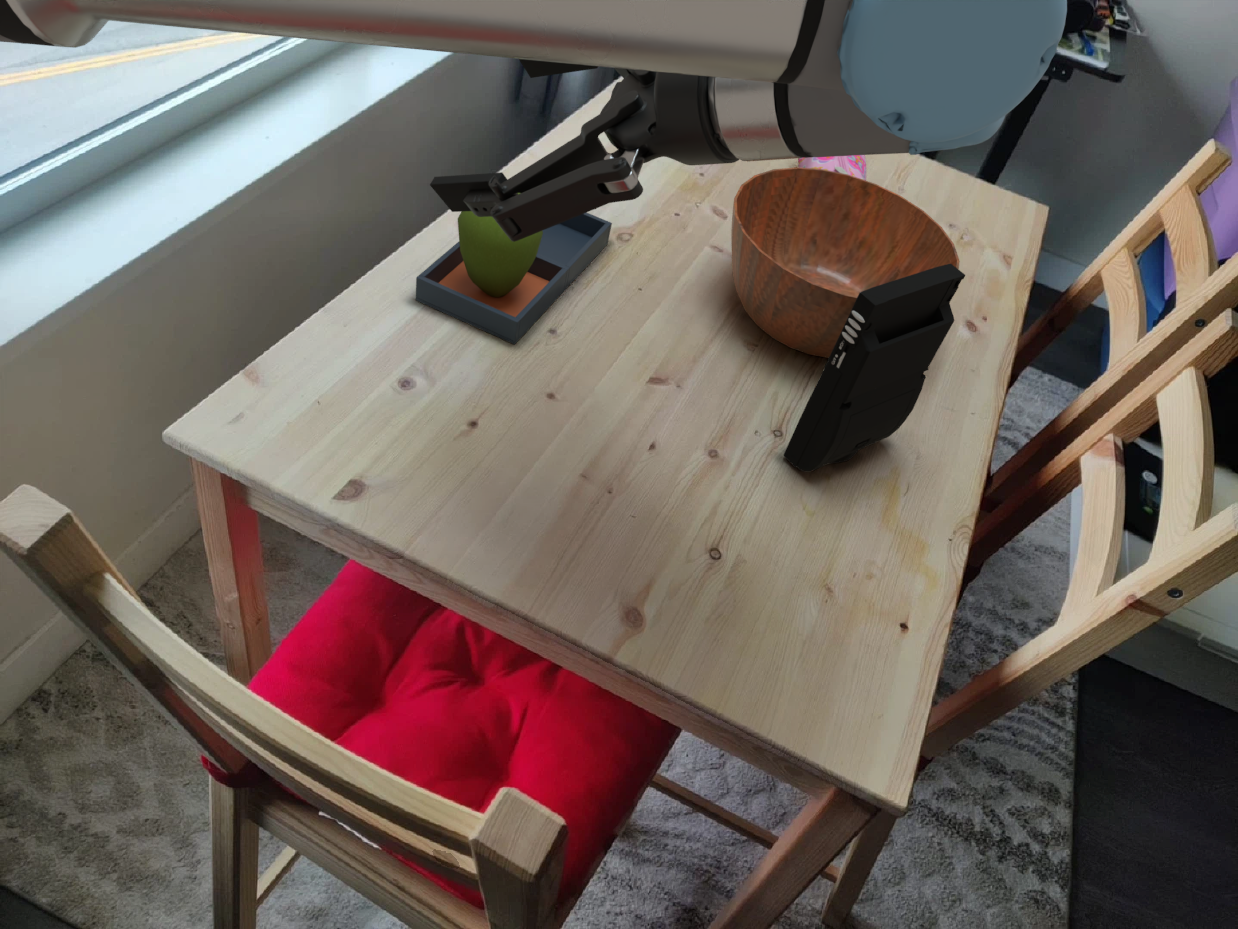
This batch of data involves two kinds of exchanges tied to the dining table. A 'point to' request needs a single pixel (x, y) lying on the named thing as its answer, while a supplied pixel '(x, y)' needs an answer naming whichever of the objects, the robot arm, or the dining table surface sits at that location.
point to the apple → (494, 254)
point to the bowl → (823, 250)
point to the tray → (543, 283)
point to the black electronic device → (875, 367)
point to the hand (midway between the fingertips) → (484, 124)
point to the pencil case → (837, 164)
